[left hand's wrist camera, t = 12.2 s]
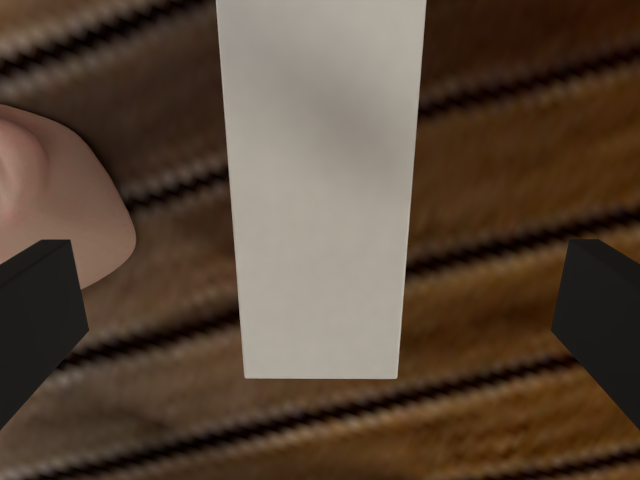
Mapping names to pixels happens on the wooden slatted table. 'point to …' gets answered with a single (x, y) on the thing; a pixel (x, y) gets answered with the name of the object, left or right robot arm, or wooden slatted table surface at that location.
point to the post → (321, 179)
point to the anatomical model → (59, 196)
